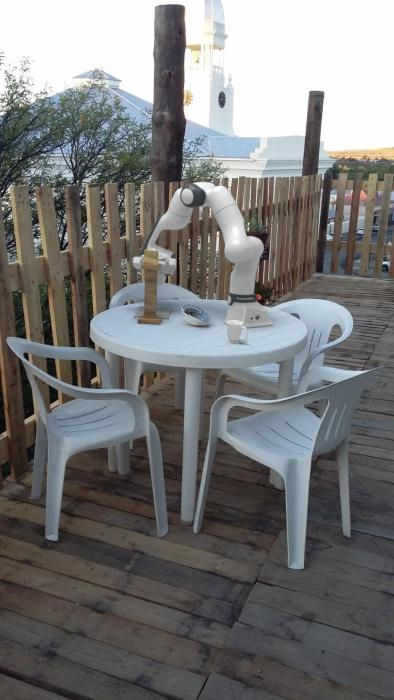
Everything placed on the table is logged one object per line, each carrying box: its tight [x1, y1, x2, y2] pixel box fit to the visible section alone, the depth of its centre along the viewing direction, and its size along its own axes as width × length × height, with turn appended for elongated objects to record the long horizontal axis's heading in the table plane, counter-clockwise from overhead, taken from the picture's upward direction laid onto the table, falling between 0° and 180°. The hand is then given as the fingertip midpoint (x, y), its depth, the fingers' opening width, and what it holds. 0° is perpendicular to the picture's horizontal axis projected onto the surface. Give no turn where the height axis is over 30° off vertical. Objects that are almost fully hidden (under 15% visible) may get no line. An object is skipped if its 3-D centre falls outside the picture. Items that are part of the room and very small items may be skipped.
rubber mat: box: [133, 305, 172, 320], centre depth 274 cm, size 22×16×1 cm
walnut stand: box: [137, 262, 163, 326], centre depth 254 cm, size 10×10×26 cm
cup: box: [225, 320, 249, 344], centre depth 230 cm, size 7×10×8 cm
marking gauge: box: [144, 250, 159, 265], centre depth 254 cm, size 16×6×6 cm, turn 179°
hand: (153, 257), depth 260 cm, fingers open, 8 cm apart
